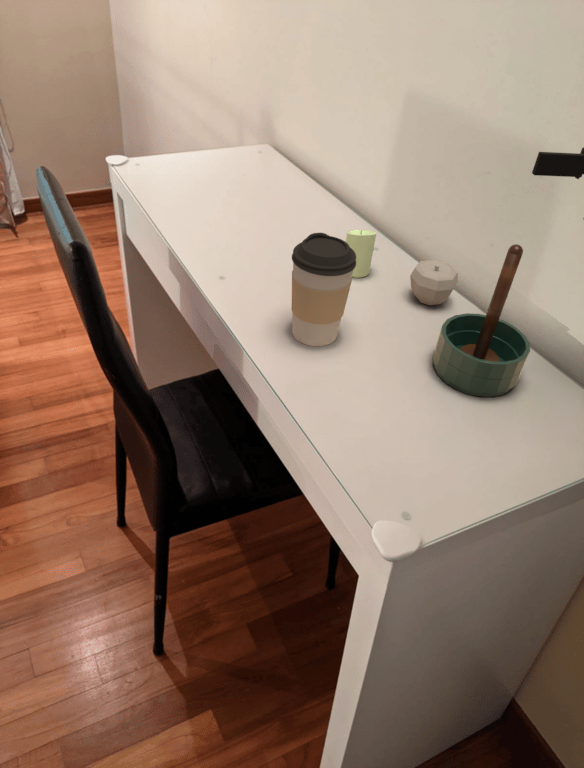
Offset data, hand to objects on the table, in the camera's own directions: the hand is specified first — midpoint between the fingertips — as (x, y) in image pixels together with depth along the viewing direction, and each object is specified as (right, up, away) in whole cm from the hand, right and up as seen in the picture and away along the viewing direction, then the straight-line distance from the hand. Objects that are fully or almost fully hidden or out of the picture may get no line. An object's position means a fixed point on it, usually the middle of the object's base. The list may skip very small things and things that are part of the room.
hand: (560, 184), depth 72 cm
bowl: (-5, -22, +17) cm, 28 cm away
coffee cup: (-28, -16, +21) cm, 39 cm away
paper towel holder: (-5, -21, +17) cm, 27 cm away
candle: (-20, -3, +38) cm, 43 cm away
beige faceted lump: (-8, -9, +32) cm, 34 cm away
